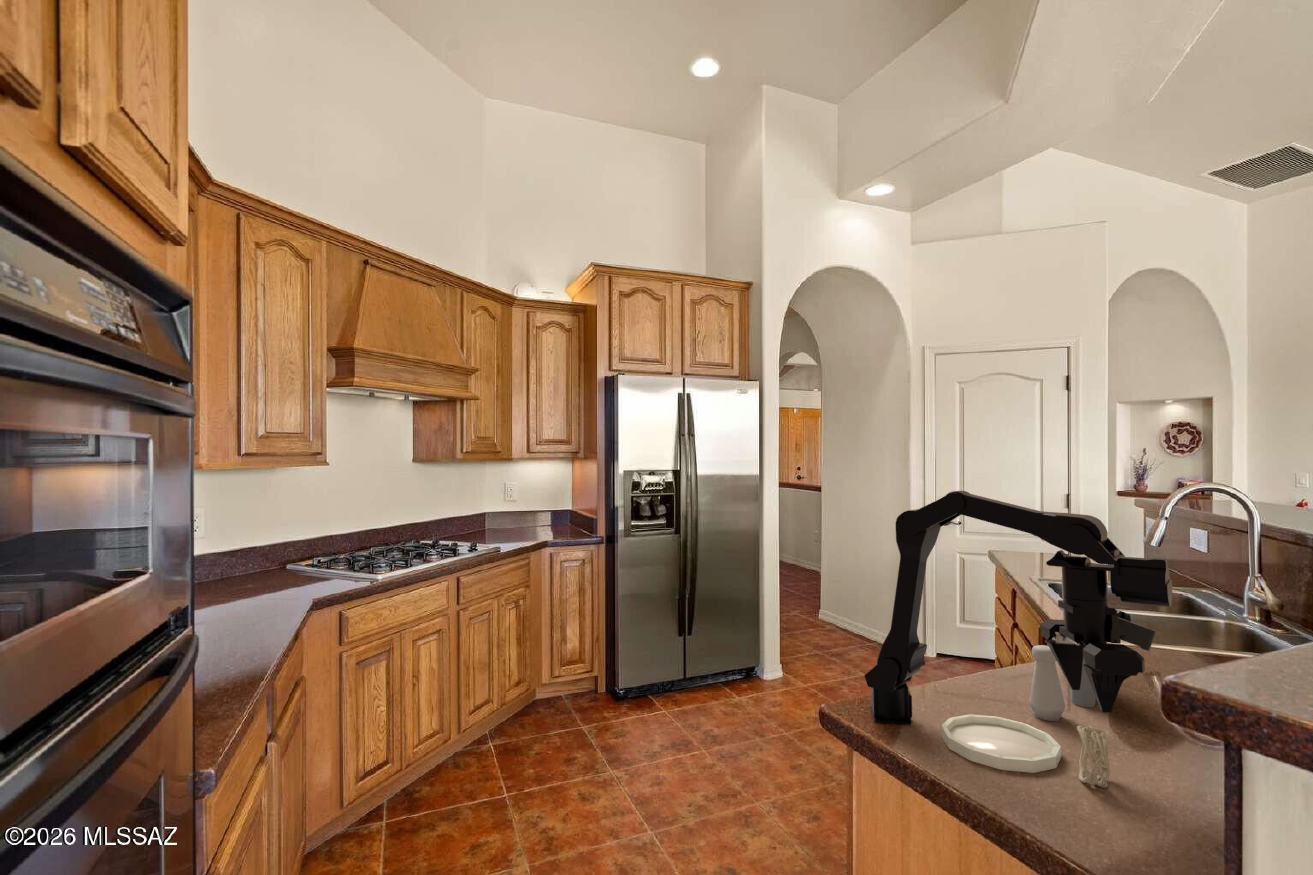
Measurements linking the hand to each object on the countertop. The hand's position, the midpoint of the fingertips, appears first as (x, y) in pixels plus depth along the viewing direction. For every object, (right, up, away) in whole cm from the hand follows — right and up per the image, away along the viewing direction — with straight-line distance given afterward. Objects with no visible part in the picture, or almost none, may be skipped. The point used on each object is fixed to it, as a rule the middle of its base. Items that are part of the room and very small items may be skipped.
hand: (1090, 700), depth 93 cm
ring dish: (-8, -12, +10) cm, 18 cm away
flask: (+22, -13, +34) cm, 42 cm away
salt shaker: (+7, -13, +22) cm, 26 cm away
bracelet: (-1, -12, -2) cm, 12 cm away
